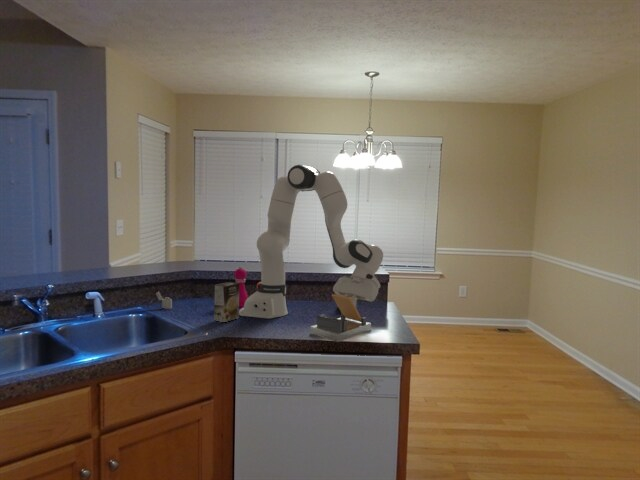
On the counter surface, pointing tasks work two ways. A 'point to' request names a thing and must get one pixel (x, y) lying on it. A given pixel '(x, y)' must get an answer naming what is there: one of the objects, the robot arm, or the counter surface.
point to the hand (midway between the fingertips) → (346, 304)
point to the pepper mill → (241, 285)
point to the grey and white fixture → (339, 327)
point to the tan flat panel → (347, 307)
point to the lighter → (165, 301)
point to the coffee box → (226, 302)
